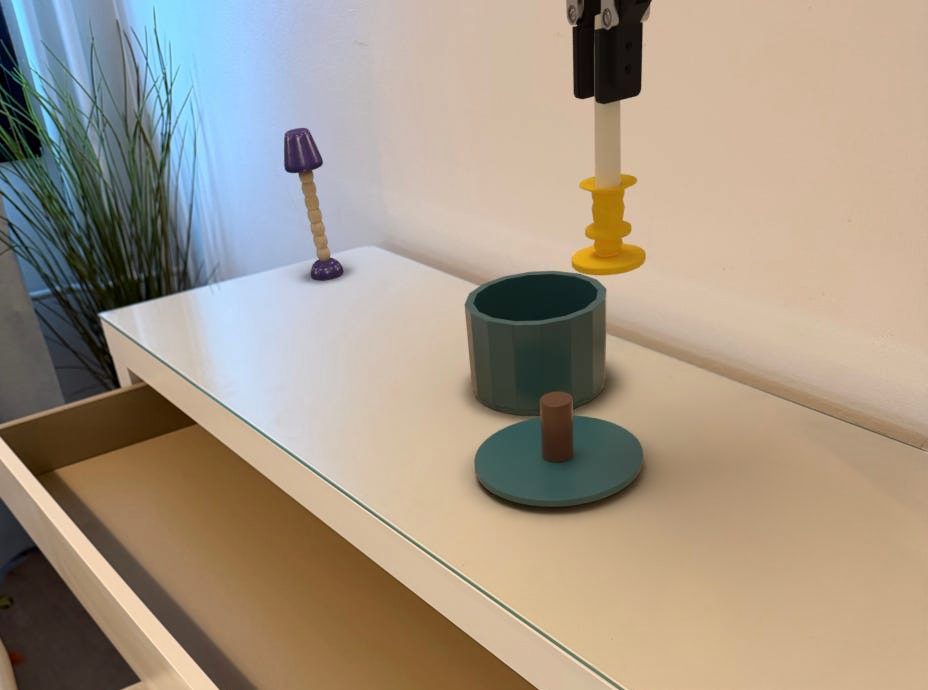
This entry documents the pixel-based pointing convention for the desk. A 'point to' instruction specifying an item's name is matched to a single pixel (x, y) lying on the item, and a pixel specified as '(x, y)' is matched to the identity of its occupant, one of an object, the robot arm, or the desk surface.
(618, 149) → the candle
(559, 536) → the desk surface
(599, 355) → the tin
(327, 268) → the toy lamp
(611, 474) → the lid
